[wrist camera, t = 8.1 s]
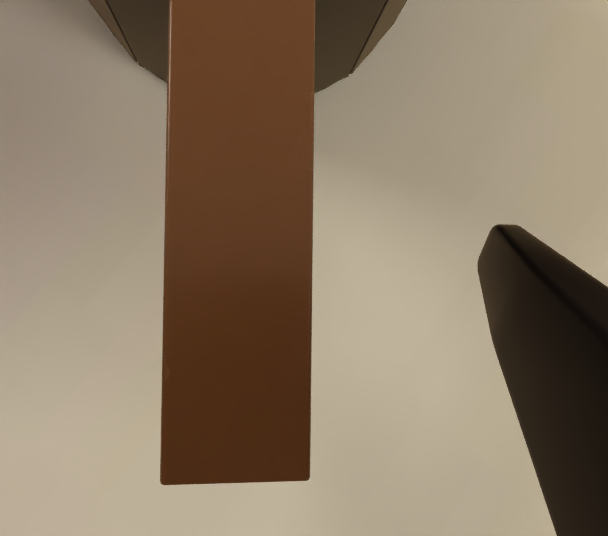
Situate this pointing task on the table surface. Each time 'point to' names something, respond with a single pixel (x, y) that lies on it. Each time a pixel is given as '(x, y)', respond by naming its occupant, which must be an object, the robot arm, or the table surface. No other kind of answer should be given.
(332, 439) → the table surface
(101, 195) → the table surface
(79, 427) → the table surface
